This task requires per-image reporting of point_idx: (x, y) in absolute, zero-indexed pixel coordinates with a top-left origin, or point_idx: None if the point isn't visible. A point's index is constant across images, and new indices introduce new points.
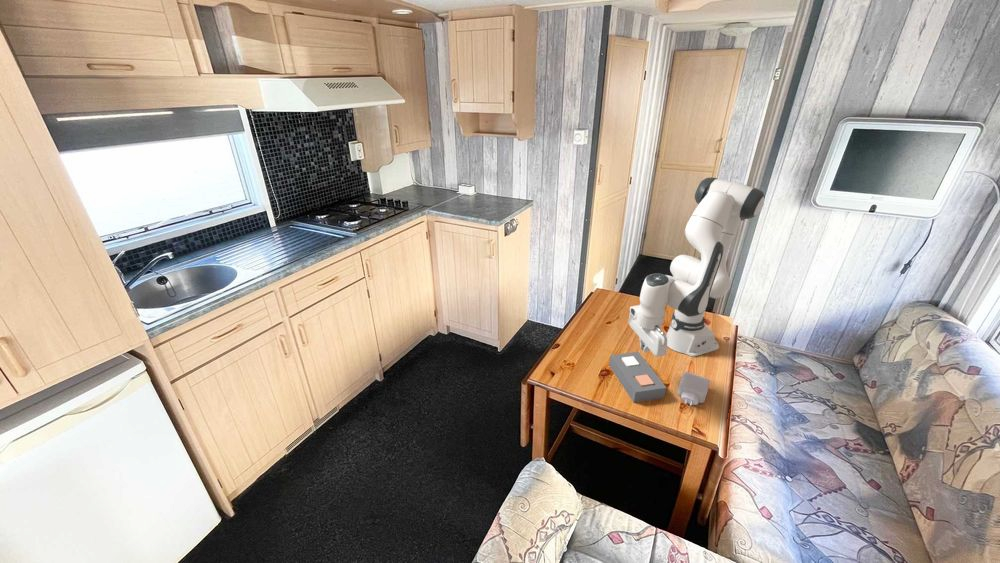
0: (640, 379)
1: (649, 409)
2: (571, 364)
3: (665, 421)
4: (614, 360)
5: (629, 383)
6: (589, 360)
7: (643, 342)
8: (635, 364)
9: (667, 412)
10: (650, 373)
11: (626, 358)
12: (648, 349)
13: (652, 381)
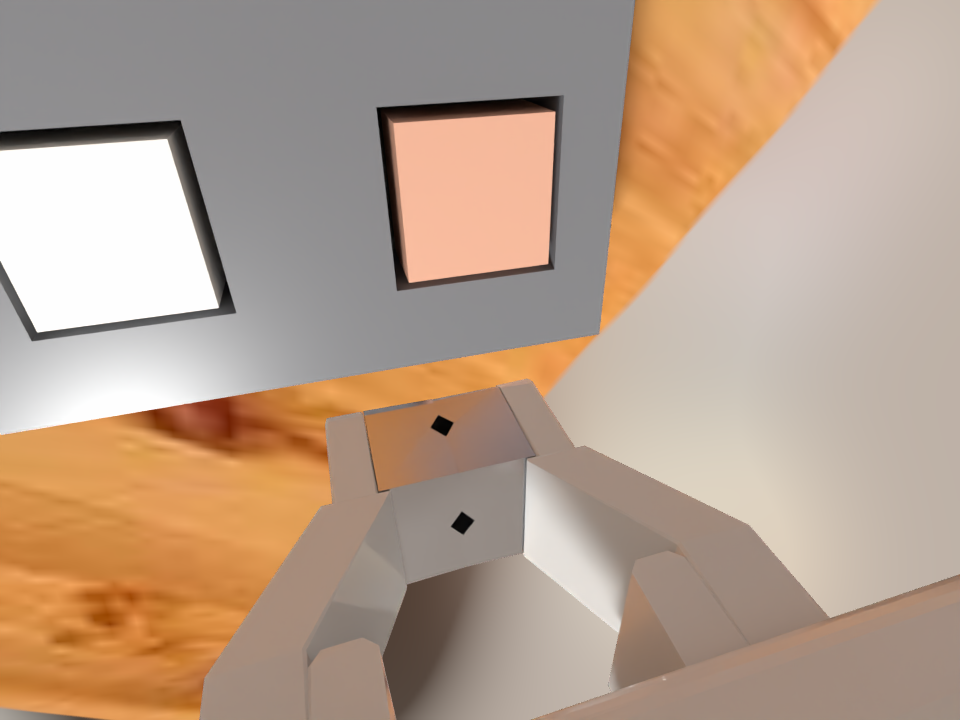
0: (468, 242)
1: (640, 191)
2: (106, 604)
3: (767, 120)
4: (112, 411)
5: (488, 351)
6: (11, 498)
7: (369, 599)
8: (181, 199)
9: (711, 51)
10: (363, 55)
11: (45, 276)
12: (558, 428)
13: (523, 117)
